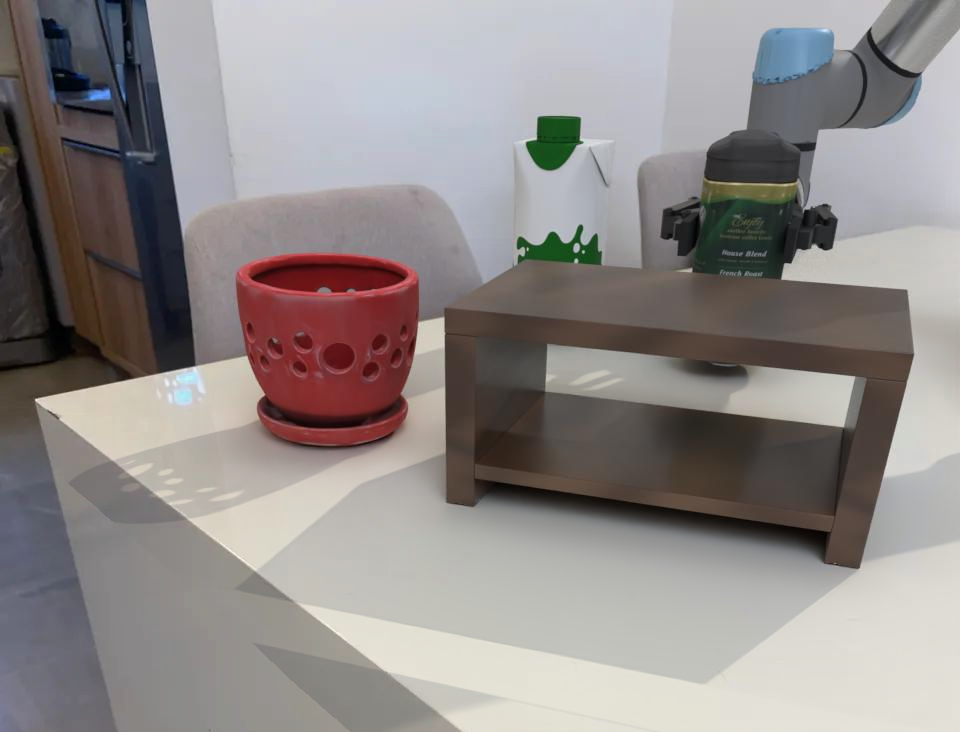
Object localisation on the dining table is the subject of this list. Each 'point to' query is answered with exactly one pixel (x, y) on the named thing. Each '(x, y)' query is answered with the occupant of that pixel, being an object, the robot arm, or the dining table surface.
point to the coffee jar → (746, 206)
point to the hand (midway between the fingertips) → (735, 242)
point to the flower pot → (329, 344)
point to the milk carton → (561, 194)
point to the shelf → (665, 429)
